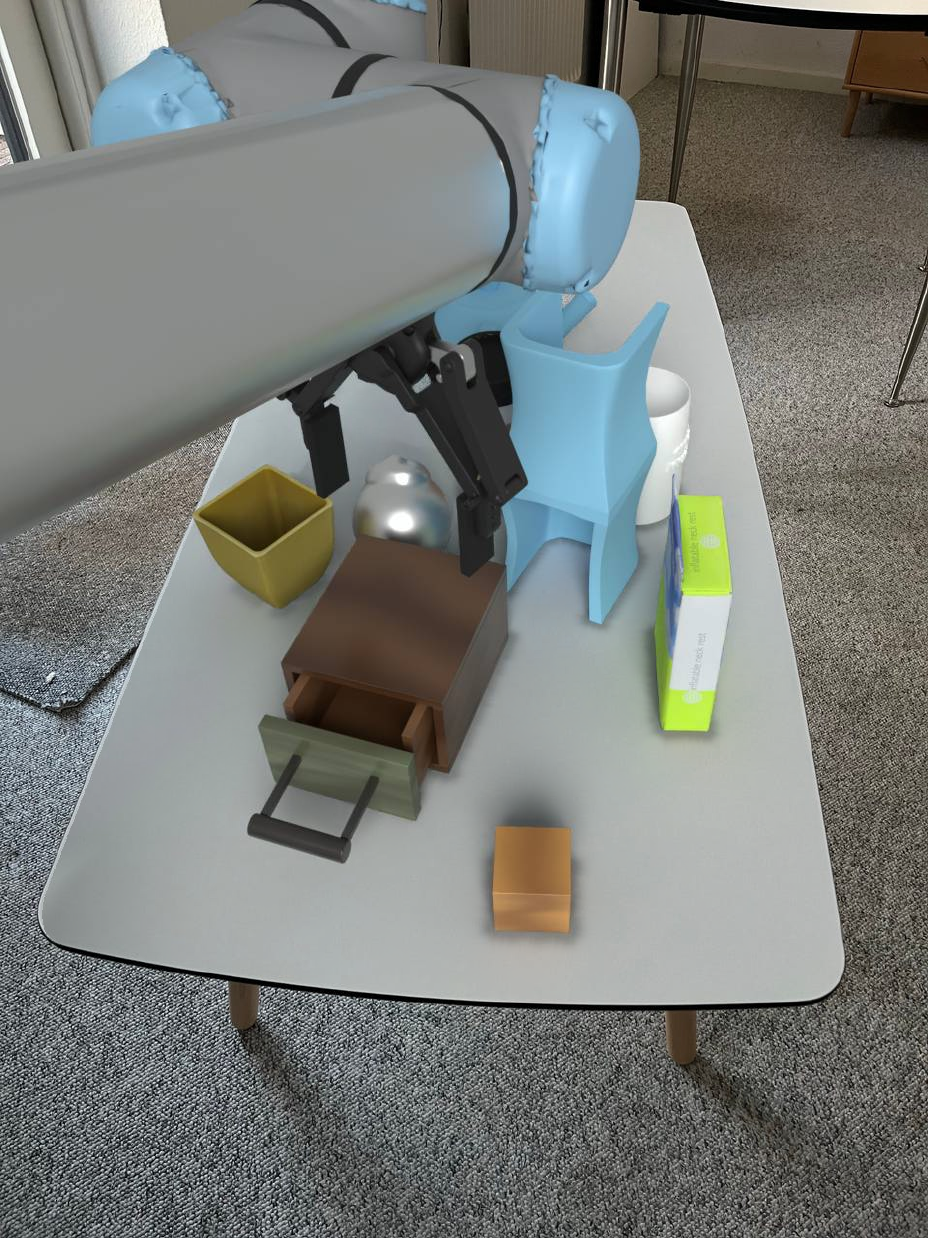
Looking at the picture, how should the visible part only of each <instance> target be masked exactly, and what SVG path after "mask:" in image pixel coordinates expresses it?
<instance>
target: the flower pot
mask: <svg viewBox="0 0 928 1238" xmlns="http://www.w3.org/2000/svg"><path fill="white" fill-rule="evenodd" d="M334 504H335V503H334V500H333V499H331V498H330V497H329V496H328V497H327V498H326V499H322V498H321V497H319V496H317V493H316V489H313V488H312V487H309V486H308V485H305V484H304V483H301V482H300V481H298V480H297V479H295V478H293V477H292V476H290V475H288V474H287V473H286V472H283V471H282V470H280V469H279V468H277V467H275V466H273V465H270V464H268V463H267V464H263V465H262V466H259V467H258V468H256V469H255V470H254V471H252V472H251V473H249V474H248V475H246V476H245V477H244V478H242V479H240V480H239V481H238V482H236V483H235V484H233V485H232V486H230V487H229V488H227V489H226V490H224V491H222V492H221V493H220V494H218V495H216V496H215V497H214V498H211V500H209V501H207V502H206V503H204V504H203V505H201V506H200V507H198V508H197V509H196V510H194V511H192V513H191V517H192V519H193V521H194V523H195V525H196V528H197V529H198V531H199V533H200V536H201V537H202V540H203V542H204V543H205V545H206V547H207V550H208V552H209V553H210V555H211V557H212V558H213V560H214V561H215V562H216V564H217V565H218V566H219V568H221V569H222V571H223V572H224V573H225V574H226V575H228V576H229V577H230V578H231V579H232V580H233V581H235V582H236V583H237V584H239V585H240V586H241V587H242V588H244V589H245V590H247V591H248V592H250V593H251V594H252V595H255V596H256V597H257V598H259V599H261V600H262V601H263V602H265V603H267V604H268V605H270V606H271V607H272V608H274V609H277V610H281V609H284V608H285V607H287V606H288V605H289V604H290V603H292V602H293V601H294V600H295V599H297V598H298V597H300V595H302V594H303V593H304V592H306V591H307V590H308V589H310V588H311V587H312V586H314V585H315V584H317V583H318V582H319V581H320V580H321V578H322V577H323V576H324V574H325V572H326V571H327V569H328V567H329V565H330V562H331V560H332V557H333V556H334V555H333V554H334V550H335V509H334V507H335V505H334Z"/></svg>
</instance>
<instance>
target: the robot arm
mask: <svg viewBox="0 0 928 1238" xmlns="http://www.w3.org/2000/svg"><path fill="white" fill-rule="evenodd" d="M426 15H428V6H427V3H426V2H425V0H254V1H253V2H251V4H249V5H248V6H247V7H246V8H245V9H244V10H241V11H239V12H238V13H235V14H233V15H231V16H229V17H227V18H225V19H223V20H220V21H218V22H216V23H215V24H212V25H211V26H208V27H206V28H204V29H202V30H199V31H198V32H196V33H193V34H191V35H190V36H187V37H185V38H184V39H181V40H179V41H177V42H175V43H173V44H171V45H169V46H165V45H162V46H160V47H158V48H155V49H152V50H151V51H150V52H149V54H148V56H146V58H145V59H144V60H142V61H140V62H138V63H137V64H136V65H134V66H132V67H131V68H130V69H128V70H127V71H125V72H124V73H122V74H121V75H119V76H117V77H116V78H114V79H112V80H111V81H110V82H109V83H108V84H107V85H106V86H105V87H104V88H103V90H102V91H101V92H100V93H99V95H98V97H97V99H96V102H95V104H94V107H93V110H92V114H91V120H90V143H91V147H87V148H83V149H78V150H74V151H68V152H63V153H58V154H54V155H48V156H44V157H39V158H33V159H28V160H24V161H19V162H14V163H9V164H4V165H0V546H2V545H4V544H5V543H8V542H10V541H11V540H13V539H15V538H16V537H19V536H21V535H22V534H25V533H26V532H28V531H30V530H32V529H34V528H35V527H37V526H39V525H41V524H43V523H44V522H47V521H48V520H51V519H52V518H54V517H56V516H58V515H60V514H61V513H63V512H64V511H67V510H68V509H70V508H73V507H75V506H76V505H78V504H80V503H82V502H83V501H85V500H87V499H89V498H91V497H93V496H95V495H97V494H98V493H100V492H103V491H104V490H106V489H108V488H110V487H111V486H113V485H115V484H117V483H120V482H121V481H123V480H124V479H126V478H128V477H130V476H132V475H134V474H135V473H137V472H139V471H141V470H143V469H145V468H147V467H150V466H151V465H153V464H155V463H156V462H158V461H160V460H161V459H163V458H165V457H168V456H170V455H171V454H173V453H175V452H177V451H178V450H181V449H183V448H184V447H186V446H187V445H190V444H191V443H193V442H195V441H197V440H199V439H201V438H203V437H205V436H206V435H208V434H210V433H212V432H214V431H216V430H218V429H219V428H221V427H223V426H225V425H227V424H228V423H230V422H232V421H234V420H236V419H238V418H240V417H242V416H244V415H246V414H247V413H249V412H251V411H253V410H255V409H257V408H258V407H260V406H262V405H264V404H266V403H268V402H271V400H273V399H277V400H278V401H281V402H282V401H283V402H284V401H285V400H287V401H288V402H289V403H291V409H292V411H293V413H294V414H295V415H296V416H297V417H298V419H299V422H300V429H301V433H302V439H303V443H304V446H305V448H306V450H307V451H308V453H309V459H310V465H311V471H312V477H313V482H314V488H315V491H316V493H317V496H319V497H321V498H322V499H326V498H327V497H328V498H329V497H330V496H331V495H333V494H335V492H337V491H338V490H339V489H341V488H342V487H343V486H345V485H346V484H347V483H349V482H351V479H350V473H349V466H348V458H347V453H346V446H345V439H344V432H343V426H342V418H341V413H340V406H338V405H336V404H334V403H329V404H328V405H326V406H325V403H326V402H329V400H331V399H332V398H334V397H335V396H336V394H335V393H336V392H337V391H338V389H339V388H340V387H341V386H342V385H343V383H344V382H345V381H346V380H348V378H349V377H350V376H351V374H352V373H353V372H354V373H355V375H356V376H357V380H360V381H361V382H364V383H367V384H374V385H376V386H378V387H379V388H380V389H382V390H383V391H384V392H386V393H389V394H391V395H393V396H395V397H396V399H397V401H398V402H399V404H400V405H401V407H402V408H403V410H404V411H405V412H407V413H410V414H411V413H412V414H413V415H414V416H416V418H417V420H418V421H419V423H420V424H421V426H422V428H423V429H424V431H425V432H426V434H427V436H428V437H429V439H430V440H431V442H432V443H433V445H434V447H435V448H436V450H437V451H438V454H439V455H440V456H441V458H442V459H443V461H444V462H445V464H446V466H447V467H448V469H449V470H450V472H451V473H452V475H453V476H454V479H455V480H456V482H457V483H458V485H459V486H460V488H461V490H462V492H461V493H460V494H459V495H457V496H456V497H455V503H456V517H457V519H456V520H457V531H458V532H457V536H458V552H459V553H458V554H459V555H460V570H461V573H462V574H463V575H465V576H467V577H469V578H470V577H471V576H472V575H473V574H474V573H475V572H476V571H478V570H479V569H480V568H481V567H482V566H483V565H484V564H486V563H487V562H488V561H491V559H493V558H494V557H495V533H496V532H497V531H498V530H499V529H500V527H501V526H502V508H501V507H502V506H504V505H505V504H506V503H507V502H508V501H510V500H511V499H512V498H513V497H514V496H516V495H517V494H518V493H519V492H520V491H521V490H523V489H524V488H525V487H526V486H527V485H528V479H527V476H526V474H525V471H524V469H523V467H522V464H521V462H520V459H519V457H518V454H517V452H516V449H515V447H514V445H513V442H512V440H511V437H510V435H509V432H508V430H507V427H506V425H505V422H504V420H503V418H502V415H501V413H500V410H499V408H498V405H497V403H496V400H495V398H494V396H493V393H492V391H491V388H490V386H489V383H488V381H487V378H486V376H485V368H484V360H483V353H482V348H481V345H480V344H479V342H478V341H477V340H475V339H473V338H470V339H468V340H466V341H465V342H463V343H462V344H460V345H458V344H454V343H450V342H447V341H443V340H442V339H441V336H440V334H439V332H438V330H437V327H436V324H435V313H436V311H437V310H439V309H440V308H442V307H444V306H446V305H448V304H450V303H452V302H453V301H455V300H457V299H459V298H461V297H463V296H465V295H467V294H468V293H471V292H473V291H475V290H477V289H479V288H481V287H483V286H485V285H487V284H489V283H490V282H497V281H499V282H508V283H511V284H514V285H518V286H521V287H523V290H528V291H530V292H533V291H537V290H541V291H548V292H555V293H562V295H576V294H582V293H584V292H587V291H589V292H590V291H591V290H592V289H594V288H595V287H596V286H598V285H599V284H600V283H601V282H602V281H603V280H604V279H605V277H606V276H607V274H608V273H609V272H610V270H611V268H612V267H613V265H614V264H615V262H616V260H617V258H618V256H619V254H620V252H621V250H622V247H623V245H624V242H625V240H626V237H627V234H628V230H629V227H630V224H631V220H632V216H633V213H634V210H635V209H634V208H635V203H636V199H637V192H638V187H639V186H638V185H639V179H640V170H641V169H640V168H641V167H640V166H641V143H640V132H639V128H638V124H637V120H636V117H635V115H634V112H633V110H632V108H631V107H630V105H629V104H628V103H627V102H626V100H625V99H624V98H622V97H621V96H620V95H619V94H617V93H616V92H615V91H611V90H608V89H603V88H599V87H594V86H589V85H584V84H580V83H575V82H572V81H567V80H563V79H560V78H559V76H558V75H557V74H550V73H546V74H545V75H546V77H543V76H536V75H527V74H520V73H513V72H507V71H499V70H492V69H485V68H484V69H483V68H478V67H477V68H475V67H468V66H461V65H454V64H447V63H439V62H431V61H428V53H427V52H428V51H427V31H426V29H427V27H426ZM426 375H427V376H428V378H429V380H430V383H429V384H428V385H427V386H426V387H424V388H423V389H421V390H420V391H418V392H416V391H415V389H414V386H416V385H417V384H418V383H420V382H421V381H422V380H423V378H424V377H425V376H426ZM478 475H479V476H480V479H477V477H478ZM463 491H464V492H463Z"/></svg>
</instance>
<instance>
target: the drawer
mask: <svg viewBox="0 0 928 1238" xmlns="http://www.w3.org/2000/svg"><path fill="white" fill-rule="evenodd" d="M282 706H283V710H284V715H285V717H286V719H285V718H282V717H279V716H273V715H271V714H266V713H265V714H264V715H263V717H262V718H261V720H260V721H259V724H258V725H257V729H258V732H259V734H260V739H261V742H262V745H263V749H264V753H265V756H266V758H267V761H268V765H269V768H270V772H271V775H272V777H273V781H274V782H275V783H276V784H275V785H274V787H273V788H272V789H273V790H272V791H271V792H270V795H269V796H268V798H267V800H266V802H265V803H264V805H263V807H262V809H261V810H260V813H258V812H255V813H253V814H251V817H250V818H249V821H248V824H247V829H246V833H247V835H248V836H249V837H251V838H254V839H257V840H261V841H265V842H268V843H272V844H275V845H278V846H280V847H284V848H288V849H291V850H294V851H298V852H302V853H306V854H308V855H311V856H315V857H318V858H321V859H325V860H328V861H332V862H336V863H338V864H342V865H343V864H345V863H346V862H347V860H348V859H349V857H350V854H351V850H352V838H353V836H354V834H355V832H356V830H357V829H358V826H359V824H360V822H361V820H362V818H363V816H364V814H365V812H366V809H370V810H373V811H377V812H381V813H384V814H387V815H391V816H395V817H399V818H402V819H405V820H409V821H413V822H417V819H418V817H419V815H420V813H421V811H422V804H421V795H420V790H419V789H420V788H421V786H422V783H423V781H424V779H425V777H426V774H427V772H428V771H429V769H428V768H429V766H430V764H431V761H432V759H433V757H434V755H435V753H436V750H437V743H436V734H435V725H434V716H433V707H430V706H426V705H423V704H419V703H415V702H411V701H407V700H403V699H399V698H395V697H391V696H387V695H383V694H379V693H375V692H371V691H367V690H363V689H359V688H355V687H351V686H347V685H343V684H339V683H335V682H331V681H327V680H323V679H319V678H315V677H311V676H307V675H303V674H300V676H299V677H298V679H297V681H296V683H295V684H294V686H293V688H292V689H291V691H290V693H288V694H287V696H286V698H285V699H284V701H283V703H282ZM288 786H289V787H292V788H296V789H298V790H303V791H305V792H306V791H307V792H310V793H313V794H317V795H320V796H323V797H328V798H331V799H334V800H338V801H342V802H345V803H348V804H352V805H355V806H354V808H353V810H352V812H351V814H350V816H349V818H348V820H347V822H346V824H345V826H344V828H343V830H342V833H341V834H340V836H338V835H334V834H330V833H327V832H323V831H320V830H316V829H313V828H311V827H310V828H309V827H307V826H303V825H299V824H296V823H293V822H289V821H286V820H282V819H280V818H276V817H272V815H273V813H274V811H275V810H276V808H277V806H278V805H279V802H280V801H281V800H282V797H283V795H284V794H285V791H286V790H287V788H288Z"/></svg>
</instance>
